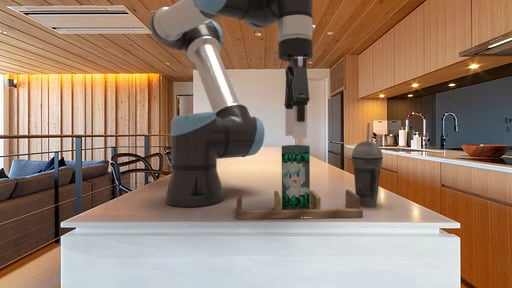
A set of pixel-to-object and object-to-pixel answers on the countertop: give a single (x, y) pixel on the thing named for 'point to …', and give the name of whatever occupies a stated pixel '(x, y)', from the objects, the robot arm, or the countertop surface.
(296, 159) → the can
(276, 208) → the notch rack
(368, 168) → the beverage cup
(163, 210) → the countertop surface
